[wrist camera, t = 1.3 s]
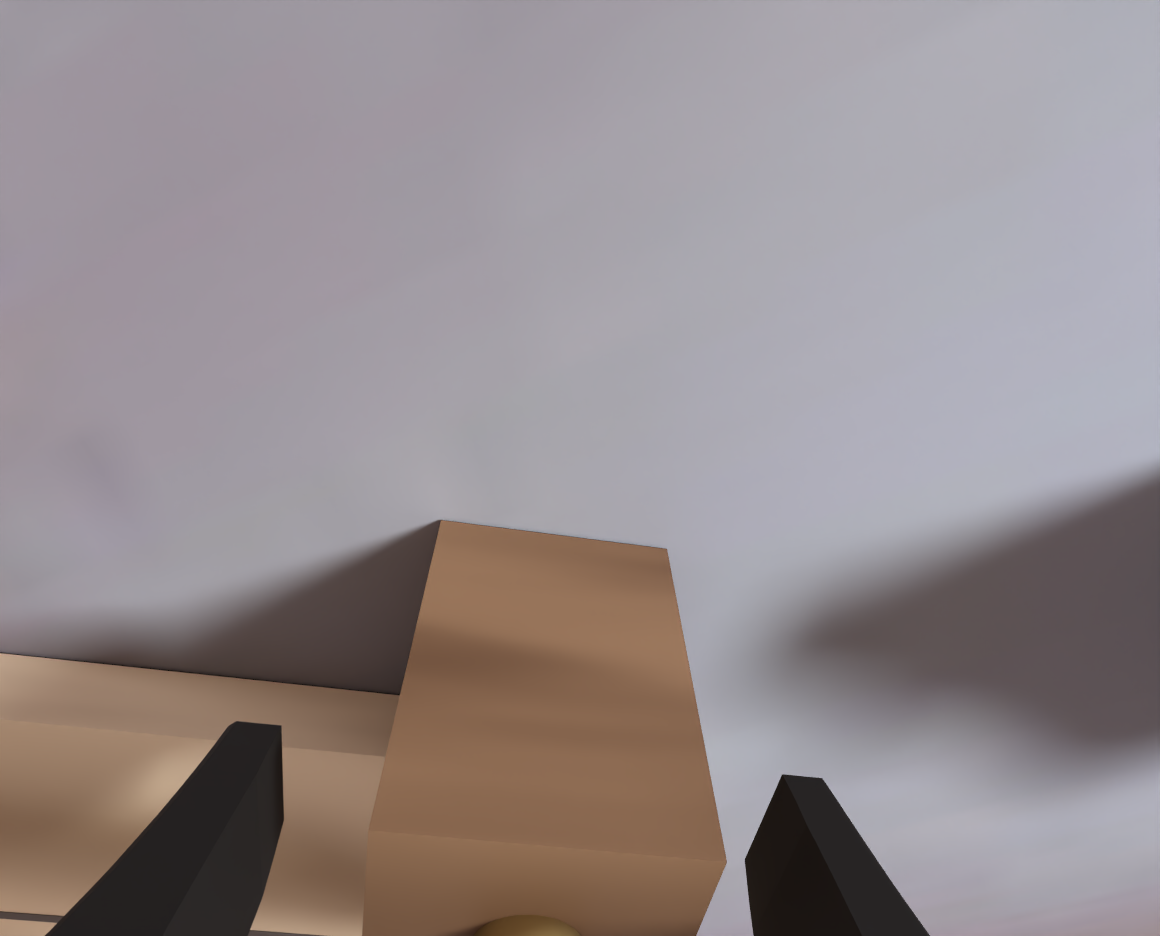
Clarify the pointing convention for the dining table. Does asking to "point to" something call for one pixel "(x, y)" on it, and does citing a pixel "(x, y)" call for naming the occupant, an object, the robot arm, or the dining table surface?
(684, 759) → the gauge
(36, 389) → the dining table surface
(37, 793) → the board
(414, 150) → the dining table surface
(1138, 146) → the dining table surface
